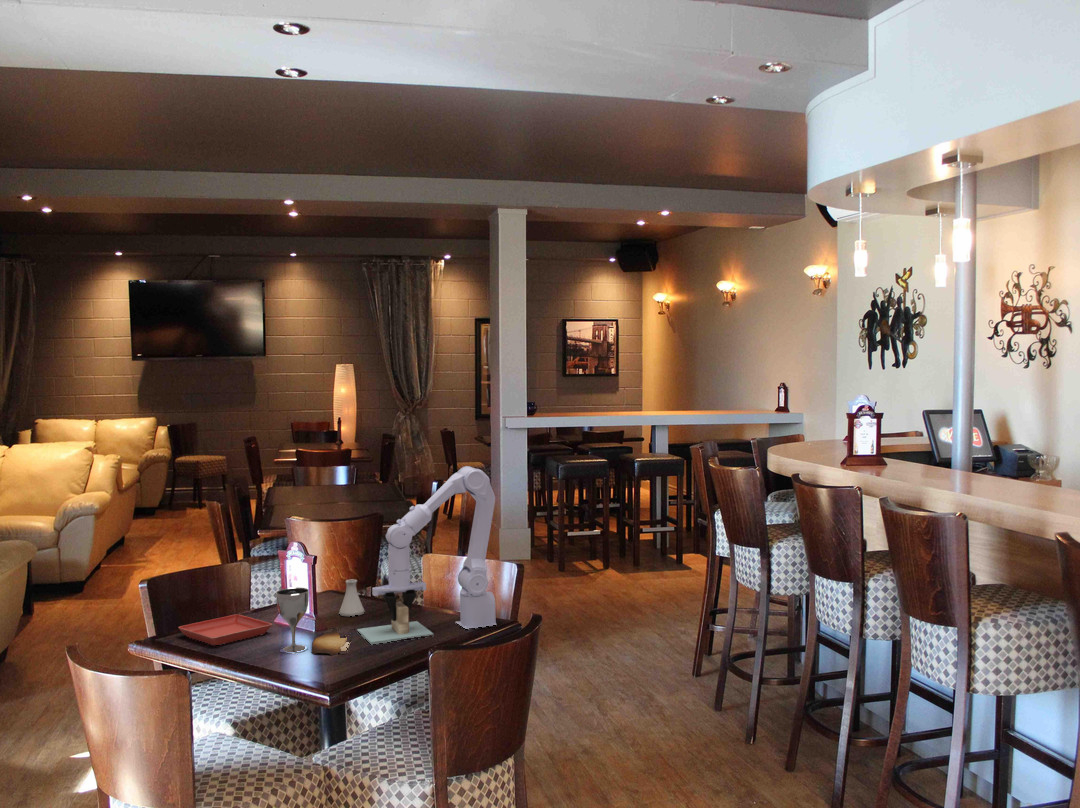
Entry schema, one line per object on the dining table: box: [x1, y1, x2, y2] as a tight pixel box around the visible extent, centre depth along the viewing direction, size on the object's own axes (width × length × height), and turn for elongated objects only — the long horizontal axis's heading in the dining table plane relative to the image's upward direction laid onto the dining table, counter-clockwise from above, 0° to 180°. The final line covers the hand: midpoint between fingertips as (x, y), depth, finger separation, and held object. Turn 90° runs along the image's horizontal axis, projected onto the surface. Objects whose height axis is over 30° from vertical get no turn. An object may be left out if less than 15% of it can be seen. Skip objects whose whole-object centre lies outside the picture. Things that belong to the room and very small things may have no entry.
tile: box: [391, 601, 410, 635], centre depth 240 cm, size 3×7×7 cm, turn 26°
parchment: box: [311, 627, 356, 656], centre depth 233 cm, size 25×10×1 cm, turn 5°
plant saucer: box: [178, 614, 273, 646], centre depth 240 cm, size 18×18×3 cm
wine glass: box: [275, 587, 310, 652], centre depth 227 cm, size 8×8×15 cm
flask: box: [338, 579, 366, 617], centre depth 262 cm, size 7×7×10 cm
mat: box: [356, 620, 434, 646], centre depth 240 cm, size 17×14×1 cm
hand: (399, 619), depth 240 cm, fingers closed on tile, 3 cm apart
